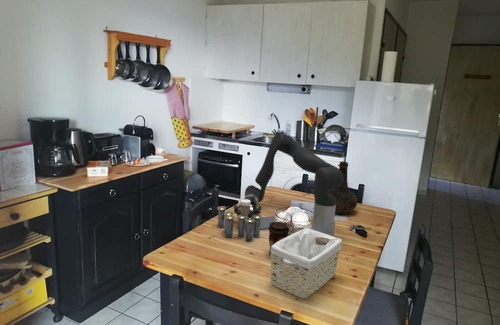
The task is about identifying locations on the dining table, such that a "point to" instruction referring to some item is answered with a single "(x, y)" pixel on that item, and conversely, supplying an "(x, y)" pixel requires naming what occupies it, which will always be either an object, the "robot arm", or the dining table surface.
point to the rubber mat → (266, 222)
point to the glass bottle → (344, 194)
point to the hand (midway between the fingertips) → (244, 215)
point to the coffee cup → (277, 233)
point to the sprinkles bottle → (245, 208)
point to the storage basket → (304, 262)
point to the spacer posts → (239, 224)
